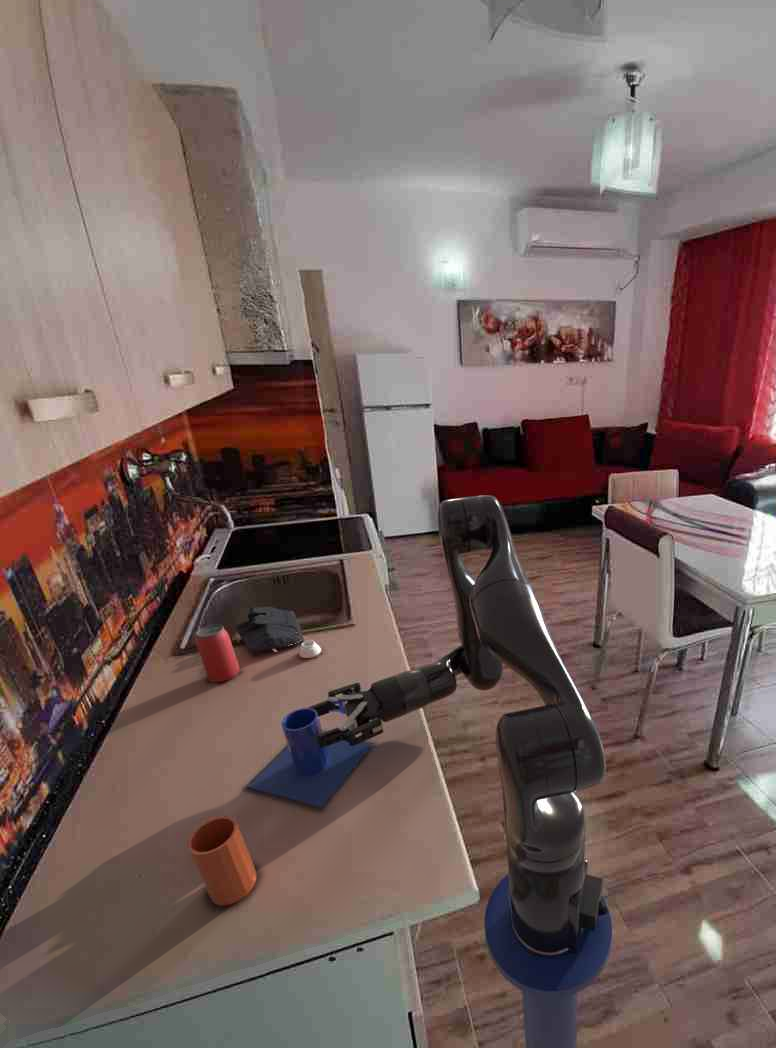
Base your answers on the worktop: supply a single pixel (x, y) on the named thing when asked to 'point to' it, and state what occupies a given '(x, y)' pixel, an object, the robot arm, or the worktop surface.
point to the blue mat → (316, 787)
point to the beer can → (217, 653)
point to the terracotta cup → (222, 860)
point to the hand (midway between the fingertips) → (312, 727)
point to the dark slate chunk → (269, 629)
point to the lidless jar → (309, 649)
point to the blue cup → (305, 741)
